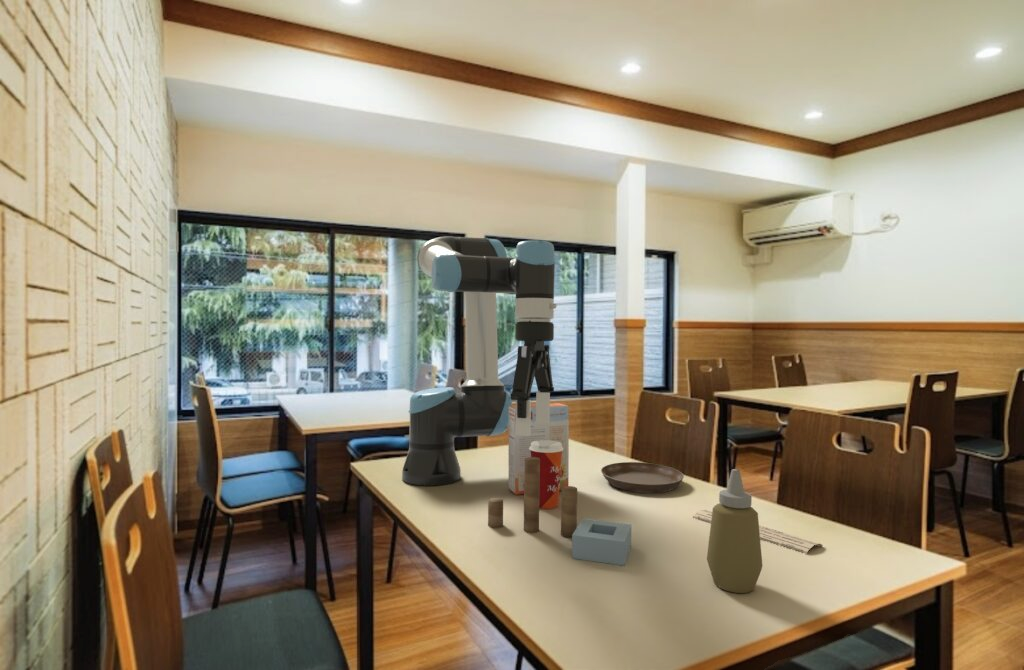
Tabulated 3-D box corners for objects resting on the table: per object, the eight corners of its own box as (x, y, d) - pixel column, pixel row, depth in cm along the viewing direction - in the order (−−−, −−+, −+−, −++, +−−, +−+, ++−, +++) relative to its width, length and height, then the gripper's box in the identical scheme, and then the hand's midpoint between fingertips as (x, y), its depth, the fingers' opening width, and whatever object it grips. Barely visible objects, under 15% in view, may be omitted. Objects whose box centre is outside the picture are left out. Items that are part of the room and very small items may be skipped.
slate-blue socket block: (582, 539, 106) (582, 518, 106) (631, 546, 103) (631, 524, 103) (571, 558, 98) (572, 534, 97) (624, 565, 95) (624, 541, 95)
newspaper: (692, 521, 119) (692, 512, 119) (712, 514, 123) (712, 506, 123) (806, 558, 100) (807, 548, 100) (825, 549, 105) (825, 539, 105)
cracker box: (559, 484, 144) (560, 402, 143) (569, 490, 138) (570, 405, 138) (507, 488, 139) (507, 403, 139) (514, 495, 133) (515, 407, 133)
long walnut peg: (526, 526, 113) (527, 456, 113) (540, 528, 112) (541, 457, 112) (521, 531, 110) (522, 459, 110) (536, 533, 109) (537, 461, 109)
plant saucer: (689, 498, 133) (689, 484, 133) (600, 493, 137) (601, 480, 137) (677, 476, 154) (678, 464, 154) (601, 472, 157) (601, 460, 157)
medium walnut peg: (562, 531, 110) (563, 485, 110) (578, 533, 109) (578, 486, 109) (559, 536, 108) (559, 489, 107) (574, 538, 107) (575, 491, 106)
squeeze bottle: (697, 574, 91) (699, 464, 91) (745, 573, 92) (747, 463, 92) (720, 598, 83) (722, 477, 83) (772, 597, 84) (774, 476, 84)
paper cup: (560, 511, 122) (561, 447, 122) (525, 509, 123) (526, 445, 123) (564, 501, 130) (565, 440, 129) (531, 498, 131) (532, 438, 131)
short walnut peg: (491, 522, 115) (491, 497, 115) (505, 523, 114) (505, 499, 114) (485, 526, 112) (486, 501, 112) (499, 528, 111) (500, 503, 111)
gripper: (535, 319, 97) (533, 442, 98) (567, 321, 121) (566, 420, 121) (494, 319, 100) (493, 439, 100) (534, 321, 124) (533, 418, 124)
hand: (533, 429), depth 111 cm, fingers open, 13 cm apart
